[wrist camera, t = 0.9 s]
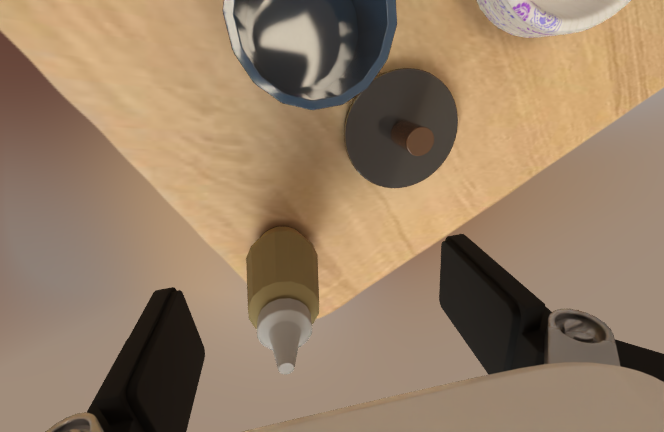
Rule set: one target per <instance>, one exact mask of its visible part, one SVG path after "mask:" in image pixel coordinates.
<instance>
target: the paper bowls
mask: <svg viewBox="0 0 664 432" xmlns="http://www.w3.org/2000/svg"><path fill="white" fill-rule="evenodd" d="M476 1H477V3H478V5H479V7H480V9H481V10H482V11H483V13H484V14H485V16H486V17H487V18H488V19H489V20H490V21H491V22H492V23H493V24H494V25H495V26H497V27H498V28H499V29H502V30H503V31H505V32H507V33H509V34H511V35H513V36H519V37H525V38H533V37H546V36H556V35H564V34H571V33H577V32H581V31H584V30H587V29H590V28H592V27H594V26H596V25H598V24H600V23H602V22H604V21H605V20H607V19H608V18H610V17H612V16H613V15H614V14H616V13H617V12H618V11H620V10H621V9H622V8H623V7H625V6H626V5H627V4H628V3H629V2H630V1H631V0H476Z"/></svg>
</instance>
